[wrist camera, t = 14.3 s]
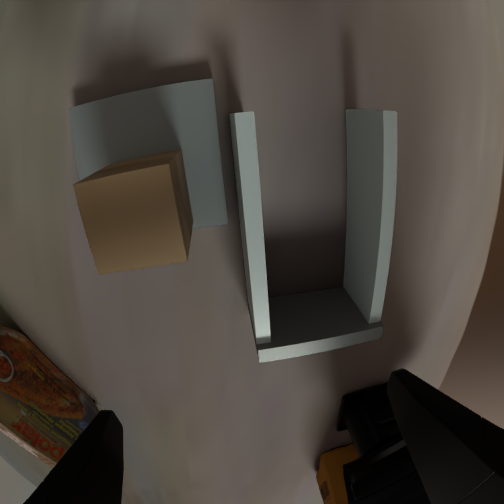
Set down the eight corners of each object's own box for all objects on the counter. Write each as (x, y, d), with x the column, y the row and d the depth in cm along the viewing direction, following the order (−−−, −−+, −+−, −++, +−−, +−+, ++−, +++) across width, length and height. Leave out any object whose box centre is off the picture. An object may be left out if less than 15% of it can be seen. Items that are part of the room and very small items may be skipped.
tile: (227, 217, 18) (228, 223, 17) (101, 235, 18) (94, 242, 17) (212, 81, 15) (212, 78, 14) (77, 108, 14) (68, 108, 13)
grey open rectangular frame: (352, 295, 22) (381, 338, 18) (249, 312, 21) (259, 362, 17) (357, 109, 16) (402, 111, 12) (228, 113, 16) (235, 112, 11)
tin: (114, 416, 25) (102, 488, 18) (94, 421, 26) (80, 489, 18) (2, 305, 19) (-47, 373, 11) (-12, 318, 19) (-57, 382, 12)
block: (193, 220, 17) (187, 261, 13) (125, 232, 17) (99, 274, 12) (181, 149, 15) (168, 163, 11) (110, 163, 15) (73, 184, 11)
